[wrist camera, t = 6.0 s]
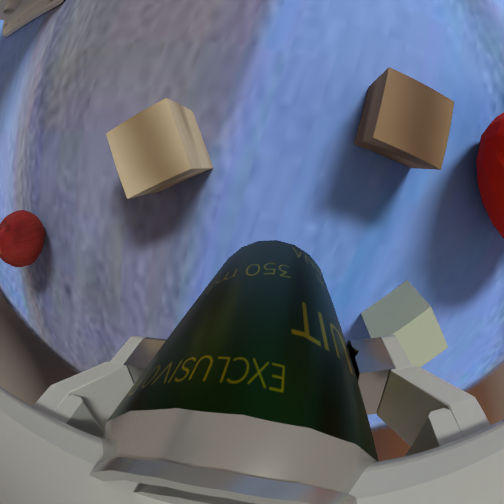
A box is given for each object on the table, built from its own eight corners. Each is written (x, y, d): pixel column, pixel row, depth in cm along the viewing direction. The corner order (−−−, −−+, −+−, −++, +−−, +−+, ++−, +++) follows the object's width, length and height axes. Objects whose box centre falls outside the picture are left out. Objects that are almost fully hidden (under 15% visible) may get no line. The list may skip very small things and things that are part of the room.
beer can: (253, 347, 15) (202, 556, 4) (200, 269, 14) (34, 450, 3) (340, 306, 14) (408, 533, 2) (291, 216, 13) (316, 427, 2)
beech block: (159, 191, 22) (127, 199, 17) (140, 137, 20) (106, 133, 16) (213, 168, 20) (191, 168, 16) (192, 111, 19) (166, 97, 15)
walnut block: (353, 144, 19) (372, 137, 14) (368, 87, 17) (388, 67, 12) (410, 168, 18) (440, 169, 14) (423, 112, 17) (454, 101, 12)
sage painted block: (383, 347, 23) (398, 381, 18) (360, 312, 22) (374, 346, 18) (426, 317, 22) (447, 347, 17) (406, 279, 21) (430, 306, 16)
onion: (24, 223, 25) (-24, 240, 17) (43, 194, 23) (-12, 208, 16) (44, 263, 26) (-3, 288, 18) (65, 238, 24) (10, 262, 17)
